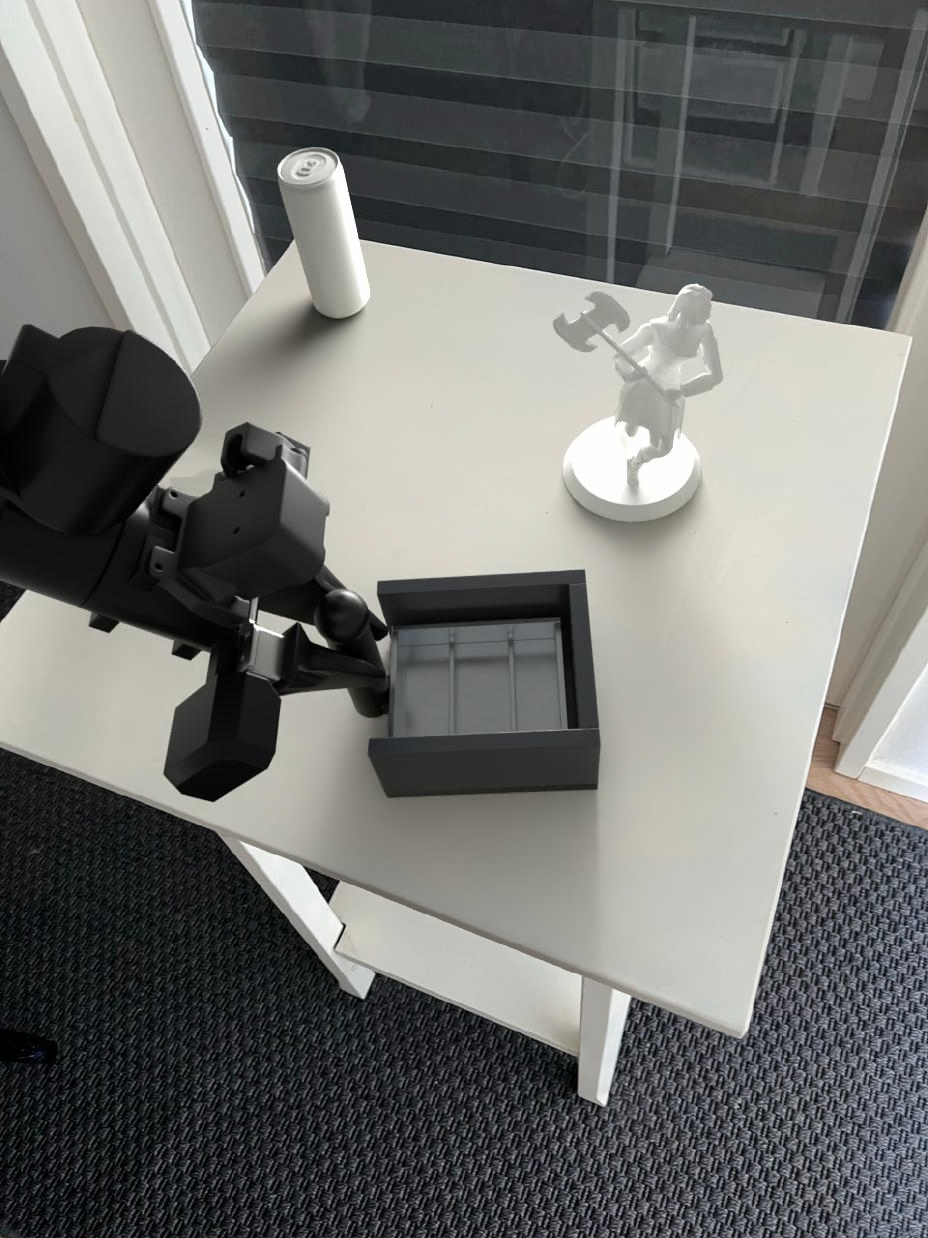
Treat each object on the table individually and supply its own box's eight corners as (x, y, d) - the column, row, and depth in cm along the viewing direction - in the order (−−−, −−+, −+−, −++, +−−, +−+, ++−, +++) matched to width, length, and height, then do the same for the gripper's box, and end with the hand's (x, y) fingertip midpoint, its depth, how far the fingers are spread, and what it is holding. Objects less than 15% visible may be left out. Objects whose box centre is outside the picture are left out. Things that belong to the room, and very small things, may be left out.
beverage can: (381, 289, 77) (353, 151, 67) (354, 327, 75) (320, 190, 65) (331, 278, 79) (296, 141, 68) (303, 314, 76) (262, 178, 66)
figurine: (556, 522, 62) (551, 303, 47) (558, 418, 67) (555, 190, 52) (706, 521, 61) (750, 297, 46) (697, 416, 66) (735, 182, 51)
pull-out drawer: (347, 767, 53) (300, 674, 44) (356, 646, 57) (314, 538, 48) (569, 757, 52) (569, 660, 43) (560, 635, 56) (559, 523, 47)
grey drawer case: (386, 798, 53) (367, 755, 48) (393, 634, 59) (377, 580, 54) (597, 790, 52) (600, 745, 47) (583, 623, 58) (585, 568, 53)
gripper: (134, 658, 32) (481, 772, 40) (212, 298, 42) (477, 449, 50) (27, 760, 39) (340, 839, 47) (115, 433, 49) (360, 545, 57)
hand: (383, 657), depth 50 cm, fingers closed on pull-out drawer, 2 cm apart
